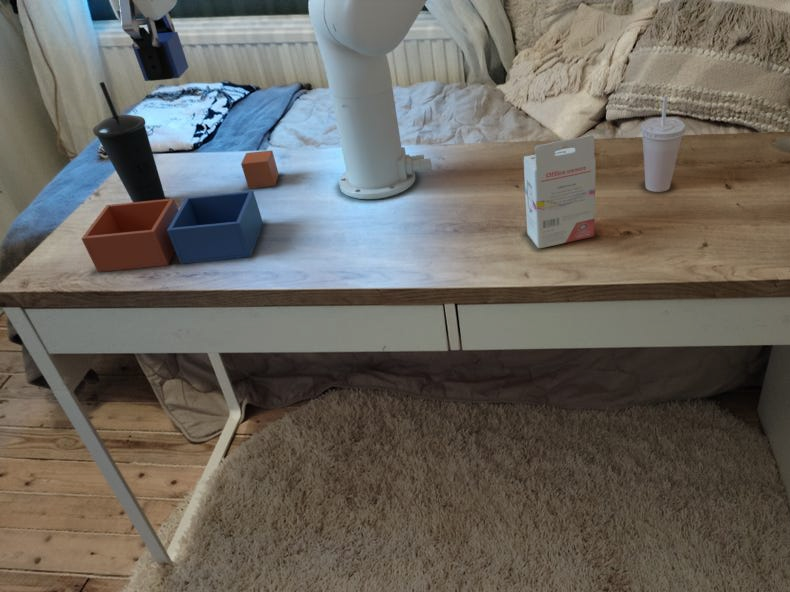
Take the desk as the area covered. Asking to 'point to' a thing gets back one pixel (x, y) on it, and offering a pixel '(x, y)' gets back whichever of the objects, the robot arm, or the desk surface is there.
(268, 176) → the terracotta block
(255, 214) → the blue bin
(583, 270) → the desk surface
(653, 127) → the smoothie
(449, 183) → the desk surface
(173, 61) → the blue block
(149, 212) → the terracotta bin
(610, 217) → the desk surface
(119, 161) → the drinking cup
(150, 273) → the desk surface
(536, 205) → the ink cartridge box
